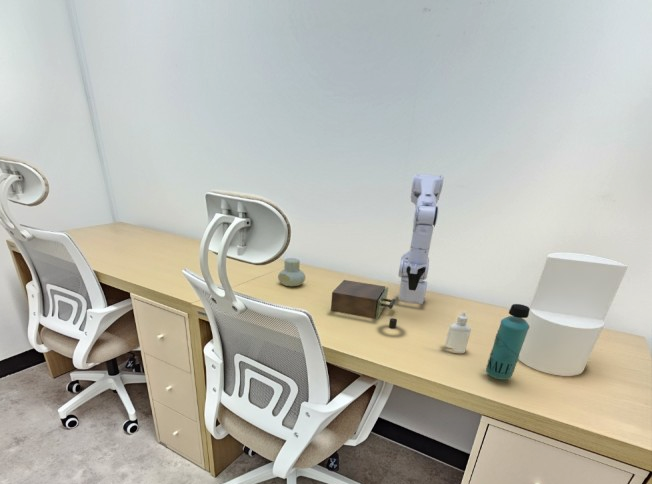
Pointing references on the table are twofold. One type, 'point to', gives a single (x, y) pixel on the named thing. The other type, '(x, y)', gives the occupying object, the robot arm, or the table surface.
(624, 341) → the table surface
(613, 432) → the table surface
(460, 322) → the eye dropper bottle
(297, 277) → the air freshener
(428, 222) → the robot arm
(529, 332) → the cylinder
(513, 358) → the beverage bottle
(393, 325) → the lid
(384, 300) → the drawer
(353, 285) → the cabinet
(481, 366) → the table surface
